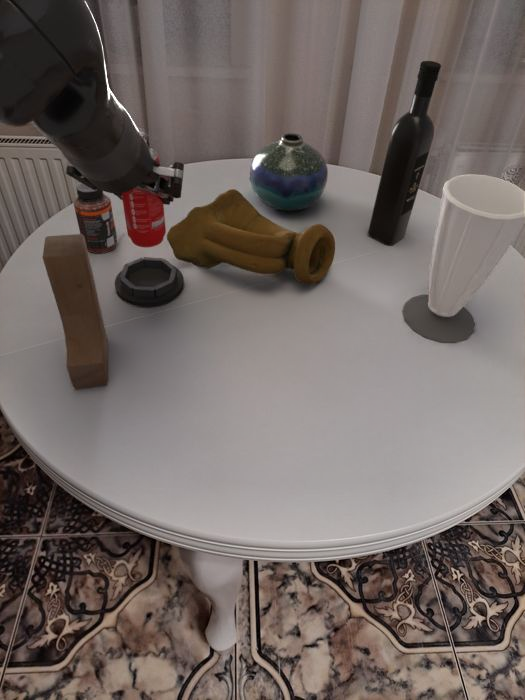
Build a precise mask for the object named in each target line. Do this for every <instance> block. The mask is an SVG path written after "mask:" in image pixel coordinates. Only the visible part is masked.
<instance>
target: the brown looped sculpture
mask: <svg viewBox="0 0 525 700" xmlns="http://www.w3.org/2000/svg"><path fill="white" fill-rule="evenodd" d="M166 239H167V242H168V243H169V246H170V247H171V250H172V253H173V256H174V257H175V259H176V260H179V261H182V262H184V263H191V264H192V265H194V266H195V267H198V268H202V269H210V268H213V267H215V266H218V265H220V264H223V263H224V264H228V265H230V266H233V267H236V268H238V269H241V270H245V271H247V272H251V273H254V274H255V273H256V274H261V275H277V274H280V273H282V272H283V271H285V270H287V269H292V270H293V274H294V277H295V279H296V280H297V281H298V282H300V283H302V284H305V285H314V284H316V283H319V282H321V281H322V280H323V279H324V278H325V276H327V273H328V272H329V270H330V269H331V267H332V264H333V261H334V258H335V255H336V254H335V252H336V239H335V236H334V234H333V233H332V231H331V230H330V229H329V228H328V227H327V226H325V225H323V224H321V223H316V224H313V225H311V226H309V227H307V228H306V229H305V230H304V231H303V233H302V232H299V231H295V230H291V229H287V228H286V227H283V226H281V225H279V224H277V223H275V222H274V221H272V220H271V219H269V218H267V217H266V216H265V215H263V214H261V213H260V212H259V211H258V210H257V209H256V208H255V207H254V206H253V205H252V204H251V202H250V201H249V200H248V199H246V198H245V196H244V195H243V194H242V193H241V192H240V191H238V190H237V189H235V188H230V189H228V190H227V191H224V192H223V193H220V194H218V196H217V197H216V198H215V199H214V200H213V201H212V202H210V203H208V204H205V205H201V206H194V207H193V208H192V209H191V210H190V211H189V212H188V213H187V215H186V217H184V218H183V219H182V220H180V221H179V222H177V223H176V224H174V225H172V226H171V227H170V228H169V229H168V232H167V234H166Z"/></svg>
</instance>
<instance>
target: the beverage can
mask: <svg viewBox="0 0 525 700" xmlns="http://www.w3.org/2000/svg"><path fill="white" fill-rule="evenodd" d="M149 150H150V153H151V157H152V158H153V159H155V160H156V161H158V162H159V163H160V164H161V162H160V161H161V160H160V158H159V157H158V153H157V152H156V150H154V149H152V148H149ZM121 201H122V206H123V213H124V219H125V225H126V233H127V236H128V237H129V238H130V240H131V242H132V244H133V245H135V246H137V247H140V248H153V247H157V246H158V245H160V244H161V243H162V242H163V241H164V237H165V235H166V233H167V230H166V219H165V218H166V217H165V204H163V202H162V201H161V200H160V199H159V197H158V196H157V195H147V194H145V193H143V192H142V191H140V190H134V189H132V190H130V191H128V192H125V193H122V200H121Z"/></svg>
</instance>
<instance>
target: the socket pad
mask: <svg viewBox="0 0 525 700" xmlns="http://www.w3.org/2000/svg"><path fill="white" fill-rule="evenodd" d="M114 288H115V293H116V295H117V297H118V298H119V299H120V300H121V301H123V302H124V303H126V304H128V305H130V306H134V307H138V308H156V307H160V306H165V305H167V304H169V303H171V302H173V301H174V300H176V299H178V297H180V295H181V294H182V292H183V291H184V288H185V277H184V274H183V272H182V271H181V270H180V269H179V268H178V267H176V266H175V265H174V264H172V263H171V262H169V261H168V260H167V259H166V258H163V257H152V256H150V257H149V256H142V257H139V258H137V259H135V260H132V261H130V262H128V263H125V264H124V265H123V267H122V269H121V270H120V271H119V272H118V274H117V275H116V277H115V279H114Z"/></svg>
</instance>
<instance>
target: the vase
mask: <svg viewBox="0 0 525 700" xmlns="http://www.w3.org/2000/svg"><path fill="white" fill-rule="evenodd" d="M328 174H329V170H328V165H327V162H326V160H325V158H324V156H323V155H322V154H321V152H319V151H318V149H316V148H315V147H313V145H310V144H309V143H307V142H305V141H304V139H303V136H302V135H300V134H298V133H294V132H288V133H284V134H282V135H281V137H280V139H277V140H274V141H272V142H270V143H268V144H266V145H264V146H263V147H261V148H260V149H259V150H257V152H256V153H255V154H254V156H253V158H252V160H251V163H250V167H249V180H250V185H251V188H252V190H253V192H254V194H255V195H256V196H257V198H258V199H259V201H261V202H262V203H263V204H265V205H266V206H268V207H270V208H272V209H275V210H278V211H284V212H295V211H300V210H304V209H306V208H308V207H310V206H312V205H313V204H315V203H316V202H317V201H318V200H319V199H320V197H321V196H322V194H323V193H324V191H325V188H326V186H327V183H328V179H329V178H328V177H329V175H328Z"/></svg>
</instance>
